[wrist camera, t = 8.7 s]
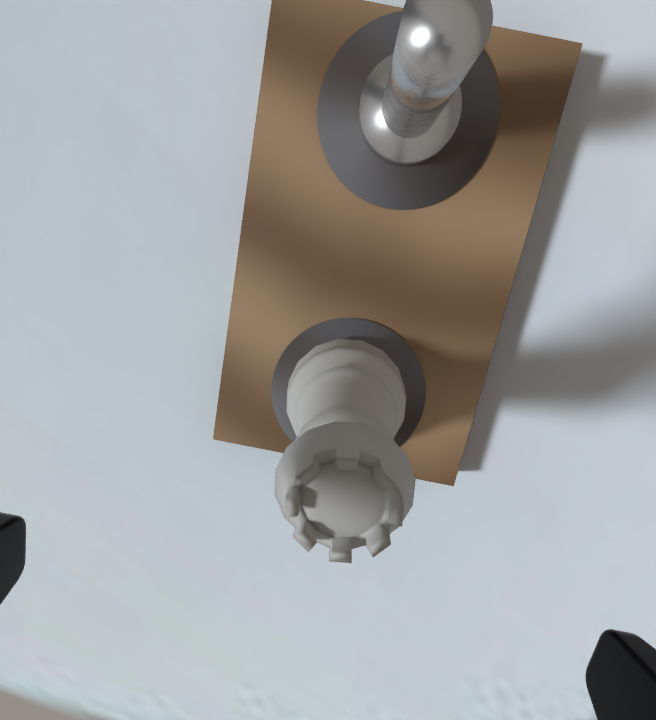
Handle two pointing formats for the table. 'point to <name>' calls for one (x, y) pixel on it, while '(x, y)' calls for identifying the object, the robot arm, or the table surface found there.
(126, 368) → the table surface
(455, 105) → the point post
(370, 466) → the rook chess piece
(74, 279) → the table surface
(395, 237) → the board
